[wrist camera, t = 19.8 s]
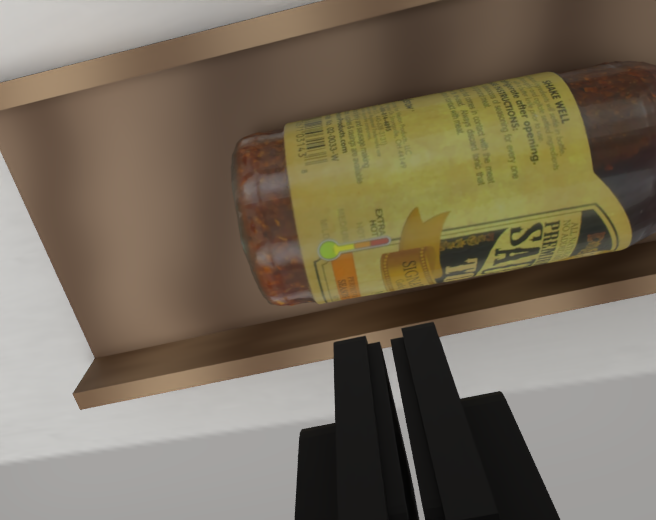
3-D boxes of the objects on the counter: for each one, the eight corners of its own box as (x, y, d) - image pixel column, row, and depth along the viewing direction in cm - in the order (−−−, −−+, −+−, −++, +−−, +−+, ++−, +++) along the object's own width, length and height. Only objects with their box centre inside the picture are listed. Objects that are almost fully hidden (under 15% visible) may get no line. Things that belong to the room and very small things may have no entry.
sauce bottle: (245, 323, 18) (980, 197, 16) (208, 114, 18) (935, -37, 16) (283, 305, 24) (806, 214, 22) (256, 152, 24) (775, 48, 22)
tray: (818, -126, 20) (903, -147, 17) (790, 222, 25) (853, 252, 22) (-19, 87, 22) (-71, 101, 20) (106, 365, 27) (80, 409, 24)
